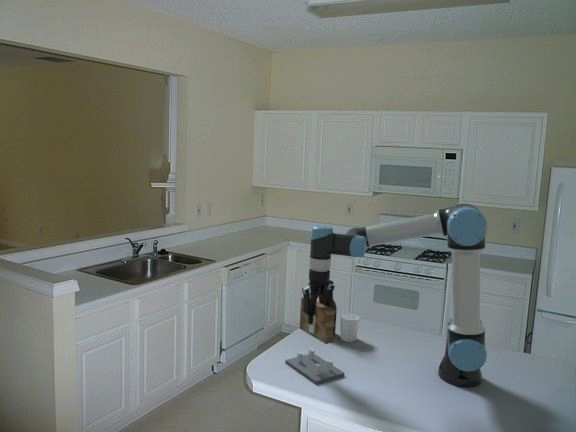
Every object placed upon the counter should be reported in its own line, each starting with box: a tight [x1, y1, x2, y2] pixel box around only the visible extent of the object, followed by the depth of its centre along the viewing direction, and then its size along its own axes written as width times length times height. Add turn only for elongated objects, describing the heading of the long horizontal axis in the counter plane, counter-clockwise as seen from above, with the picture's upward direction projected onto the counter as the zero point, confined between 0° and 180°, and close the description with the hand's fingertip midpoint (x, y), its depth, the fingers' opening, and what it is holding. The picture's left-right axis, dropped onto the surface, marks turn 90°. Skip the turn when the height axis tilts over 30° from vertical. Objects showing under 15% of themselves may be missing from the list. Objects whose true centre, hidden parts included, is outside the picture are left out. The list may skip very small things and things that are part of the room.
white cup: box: [340, 313, 360, 343], centre depth 211 cm, size 8×8×10 cm
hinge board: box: [285, 348, 345, 385], centre depth 181 cm, size 19×13×5 cm
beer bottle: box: [329, 279, 338, 336], centre depth 214 cm, size 8×8×24 cm
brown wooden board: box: [299, 297, 335, 345], centre depth 179 cm, size 16×4×12 cm, turn 34°
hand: (315, 331), depth 179 cm, fingers closed on brown wooden board, 3 cm apart
